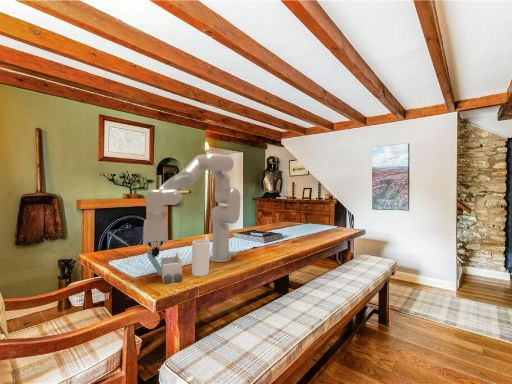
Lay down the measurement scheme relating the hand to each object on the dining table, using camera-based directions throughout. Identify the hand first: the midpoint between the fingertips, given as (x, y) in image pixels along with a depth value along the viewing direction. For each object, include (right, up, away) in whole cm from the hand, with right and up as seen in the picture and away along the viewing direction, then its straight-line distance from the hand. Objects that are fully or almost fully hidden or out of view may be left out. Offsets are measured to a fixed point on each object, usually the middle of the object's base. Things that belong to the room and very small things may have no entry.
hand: (155, 256), depth 117 cm
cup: (+19, -11, +9) cm, 24 cm away
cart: (+6, -11, +3) cm, 13 cm away
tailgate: (+2, -7, +1) cm, 7 cm away
